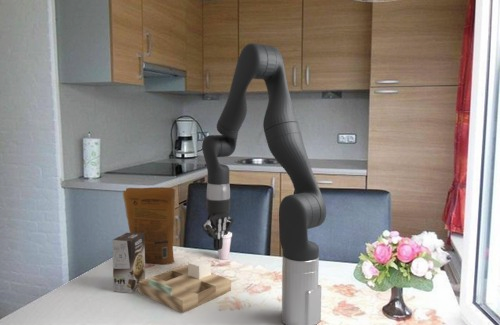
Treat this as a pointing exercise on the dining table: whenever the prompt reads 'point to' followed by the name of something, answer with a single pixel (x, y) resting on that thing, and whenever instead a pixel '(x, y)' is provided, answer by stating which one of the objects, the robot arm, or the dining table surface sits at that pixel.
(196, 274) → the block
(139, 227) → the pancake mix bag
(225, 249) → the smoothie
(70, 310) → the dining table surface
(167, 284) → the trap deck
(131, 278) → the coffee box
